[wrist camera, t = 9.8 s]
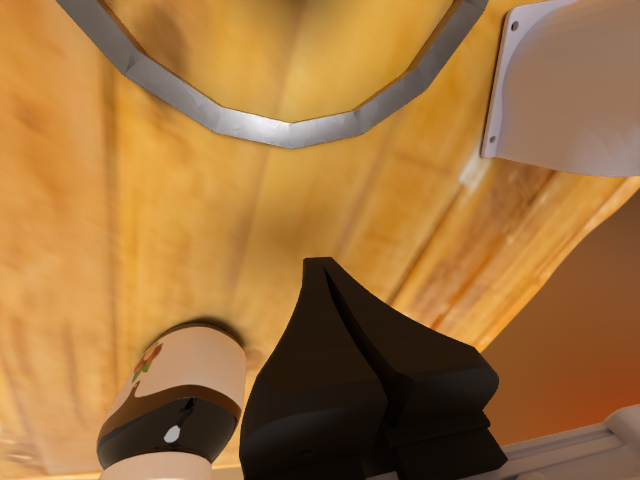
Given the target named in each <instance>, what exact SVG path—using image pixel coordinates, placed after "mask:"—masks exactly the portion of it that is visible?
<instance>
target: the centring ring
mask: <svg viewBox="0 0 640 480" xmlns="http://www.w3.org/2000/svg"><path fill="white" fill-rule="evenodd" d="M56 1H57V2H58V4H59V5H60V6H61V7H62V8H63V9H64V10H65V11H66V12H67V14H68V15H69V16H70V17H71V18H72V19H73V20H74V21H75V22H76V24H77V25H78V26H79V27H80V28H81V29H82V30H83V31H84V32H85V33H86V35H87V36H88V37H89V38H90V39H91V40H92V41H93V42H94V43H95V45H96V46H97V47H98V48H99V49H100V50H101V51H102V52H103V53H104V54H105V56H106V57H107V58H108V59H109V60H110V61H111V62H112V63H113V64H114V66H115V67H116V68H117V69H118V70H119V71H120V72H121V73H122V74H123V75H124V76H125V77H127V78H128V79H130V80H132V81H133V82H135V83H136V84H138V85H139V86H141V87H143V88H144V89H146V90H147V91H149V92H151V93H152V94H154V95H155V96H157V97H159V98H160V99H162V100H163V101H165V102H167V103H168V104H170V105H171V106H173V107H175V108H176V109H178V110H179V111H181V112H182V113H184V114H186V115H187V116H189V117H190V118H192V119H194V120H195V121H197V122H198V123H200V124H202V125H203V126H205V127H206V128H208V129H210V130H211V131H213V132H215V133H219V134H224V135H229V136H233V137H238V138H243V139H247V140H252V141H257V142H262V143H266V144H271V145H276V146H281V147H285V148H290V149H292V148H293V149H295V148H300V147H305V146H310V145H314V144H319V143H324V142H329V141H333V140H338V139H343V138H348V137H352V136H357V135H362V134H364V133H365V132H367V131H368V130H369V129H371V128H372V127H374V126H375V125H377V124H378V123H380V122H381V121H382V120H384V119H385V118H387V117H388V116H390V115H391V114H392V113H394V112H395V111H397V110H398V109H400V108H401V107H403V106H404V105H405V104H407V103H408V102H410V101H411V100H413V99H414V98H415V97H417V96H418V95H420V94H421V93H423V92H424V91H425V90H426V89H427V88H428V87H429V85H430V84H431V83H432V81H433V80H434V79H435V77H436V76H437V75H438V73H439V72H440V70H441V69H442V68H443V66H444V65H445V64H446V62H447V61H448V60H449V58H450V57H451V56H452V54H453V53H454V52H455V50H456V49H457V47H458V46H459V45H460V43H461V42H462V41H463V39H464V38H465V37H466V35H467V34H468V33H469V31H470V30H471V29H472V27H473V26H474V24H475V23H476V22H477V20H478V19H479V18H480V16H481V15H482V14H483V11H484V10H485V8H486V5H487V3H488V1H489V0H454V2H453V4H452V6H451V7H450V9H449V10H448V11H447V13H446V14H445V16H444V17H443V19H442V20H441V22H440V23H439V24H438V26H437V27H436V29H435V30H434V32H433V33H432V34H431V36H430V37H429V39H428V40H427V42H426V43H425V45H424V46H423V47H422V49H421V50H420V52H419V53H418V55H417V56H416V58H415V59H414V60H413V62H412V63H411V65H410V66H409V68H408V69H407V71H406V72H405V73H403V74H402V75H401V76H399V77H398V78H396V79H395V80H394V81H392V82H391V83H389V84H388V85H387V86H385V87H384V88H382V89H381V90H380V91H378V92H377V93H375V94H374V95H373V96H371V97H370V98H368V99H367V100H366V101H364V102H363V103H361V104H360V105H359V106H357V107H356V108H354V109H353V110H352V111H348V112H343V113H338V114H333V115H328V116H323V117H318V118H313V119H308V120H303V121H298V122H293V123H288V122H284V121H280V120H276V119H272V118H268V117H263V116H259V115H255V114H251V113H247V112H243V111H238V110H234V109H230V108H226V107H223V106H221V105H220V104H218V103H217V102H216V101H214V100H213V99H211V98H210V97H208V96H207V95H205V94H204V93H202V92H201V91H199V90H198V89H197V88H195V87H194V86H192V85H191V84H189V83H188V82H186V81H185V80H183V79H182V78H181V77H179V76H178V75H176V74H175V73H173V72H172V71H170V70H169V69H167V68H166V67H164V66H163V65H162V64H160V63H159V62H157V61H156V60H154V59H153V58H151V57H150V56H149V55H148V54H147V53H146V52H145V51H144V49H143V48H142V47H141V46H140V44H139V43H138V42H137V41H136V40H135V38H134V37H133V36H132V35H131V33H130V32H129V31H128V30H127V29H126V27H125V26H124V25H123V24H122V22H121V21H120V20H119V19H118V18H117V16H116V15H115V14H114V13H113V11H112V10H111V9H110V8H109V7H108V5H107V4H106V3H105V2H104V0H56Z"/></svg>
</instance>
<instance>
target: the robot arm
mask: <svg viewBox="0 0 640 480" xmlns="http://www.w3.org/2000/svg"><path fill="white" fill-rule="evenodd" d="M512 24H513V29H512V30H511V26H512ZM491 137H492V139H491V141H490V138H491ZM481 155H482V157H483V158H492V157H498V158H503V159H507V160H512V161H516V162H521V163H525V164H530V165H534V166H539V167H543V168H548V169H552V170H557V171H561V172H566V173H573V174H580V175H590V176H605V177H629V176H640V0H550V1H544V2H538V3H533V4H527V5H521V6H517V7H515V8H512V9H511V10H510V11H509V12H508V13H507V15H506V18H505V23H504V29H503V34H502V40H501V46H500V51H499V57H498V62H497V68H496V74H495V79H494V85H493V90H492V96H491V102H490V107H489V113H488V119H487V124H486V130H485V135H484V141H483V147H482V152H481ZM498 384H499V377H498V375H497V373H496V372H495V371H494V370H493V369H492V367H491V366H490V365H489V364H488V363H487V362H486V360H485V359H484V358H483V357H482V355H481V354H480V353H479V352H478V351H477V350H476V349H475V348H474V347H473V346H470V345H468V344H465V343H463V342H460V341H458V340H455V339H453V338H450V337H448V336H445V335H443V334H441V333H438V332H436V331H434V330H432V329H430V328H428V327H426V326H424V325H422V324H420V323H418V322H416V321H414V320H412V319H410V318H409V317H407V316H405V315H403V314H401V313H400V312H398V311H396V310H395V309H393V308H392V307H390V306H388V305H387V304H386V303H384V302H383V301H381V300H380V299H378V298H377V297H375V296H374V295H373V294H371V293H370V292H369V291H368V290H366V289H365V288H364V287H363V286H361V285H360V284H359V283H358V282H357V281H356V280H355V279H353V278H352V277H351V276H350V275H349V274H348V273H347V272H346V271H345V270H344V269H343V268H342V267H341V266H340V265H339V264H338V263H337V262H336V261H335V260H334V259H333V258H332V257H317V258H305V259H304V260H303V279H302V288H301V291H300V295H299V298H298V301H297V304H296V307H295V309H294V312H293V314H292V317H291V319H290V321H289V323H288V325H287V328H286V330H285V332H284V333H283V335H282V337H281V339H280V341H279V342H278V344H277V346H276V348H275V349H274V351H273V353H272V354H271V356H270V357H269V359H268V360H267V362H266V363H265V365H264V366H263V368H262V369H261V371H260V372H259V374H258V375H257V377H256V380H255V383H254V385H253V388H252V391H251V393H250V396H249V399H248V402H247V405H246V408H245V412H244V415H243V420H242V425H241V432H240V447H239V458H240V462H241V467H242V471H243V475H244V480H640V404H637V405H633V406H628V407H624V408H621V409H619V410H617V411H615V412H613V413H612V414H610V415H609V416H608V417H607V418H606V419H605V420H604V422H602V423H599V424H594V425H590V426H585V427H581V428H577V429H573V430H569V431H564V432H560V433H556V434H552V435H547V436H543V437H539V438H535V439H530V440H526V441H522V442H518V443H514V444H509V445H505V446H499V445H498V444H497V442H496V440H495V439H494V437H493V436H492V434H491V433H490V432H489V430H488V429H487V428H488V427H490V421H489V420H488V418H487V417H486V415H485V414H484V412H483V411H482V410H483V409H484V407H485V406H486V405H487V403H488V402H489V400H490V399H491V398H492V396H493V395H494V394H495V392H496V390H497V388H498Z"/></svg>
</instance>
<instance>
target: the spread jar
mask: <svg viewBox="0 0 640 480" xmlns="http://www.w3.org/2000/svg"><path fill="white" fill-rule="evenodd" d="M246 369H247V366H246V357H245V353H244V351H243V349H242V347H241V346H240V344H239V343H238V342H237V341H236V340H235V339H234V337H233V336H231V335H230V334H229V333H228V332H226V331H224V330H223V329H221V328H219V327H216V326H214V325H210V324H206V323H188V324H183V325H180V326H177V327H175V328H173V329H171V330H169V331H167V332H166V333H165V334H163V335H162V336H161V337H160V338H159V339H157V340H156V341H155V342H154V343H153V344H152V345H151V346H150V347H149V348H148V349H147V351H146V352H145V353H144V354H143V355H142V356H141V357H140V359H139V360H138V362H137V363H136V364H135V366H134V367H133V369H132V370H131V372H130V374H129V375H128V377H127V379H126V381H125V383H124V384H123V386H122V388H121V390H120V392H119V394H118V396H117V398H116V400H115V401H114V403H113V405H112V407H111V409H110V411H109V413H108V415H107V417H106V419H105V421H104V423H103V426H102V428H101V430H100V433H99V436H98V440H97V447H96V452H97V457H98V460H99V462H100V464H101V467H102V468H103V470H104V471H103V472H102V473H101V475H100V477H99V479H98V480H211V473H212V466H211V464H212V463H213V462H214V461H215V459H216V458H217V457H218V456H219V454H220V453H221V452H222V451H223V449H224V448H225V447H226V445H227V444H228V442H229V441H230V439H231V437H232V436H233V434H234V432H235V430H236V428H237V426H238V423H239V420H240V416H241V412H242V407H243V402H244V394H245V383H246Z"/></svg>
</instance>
